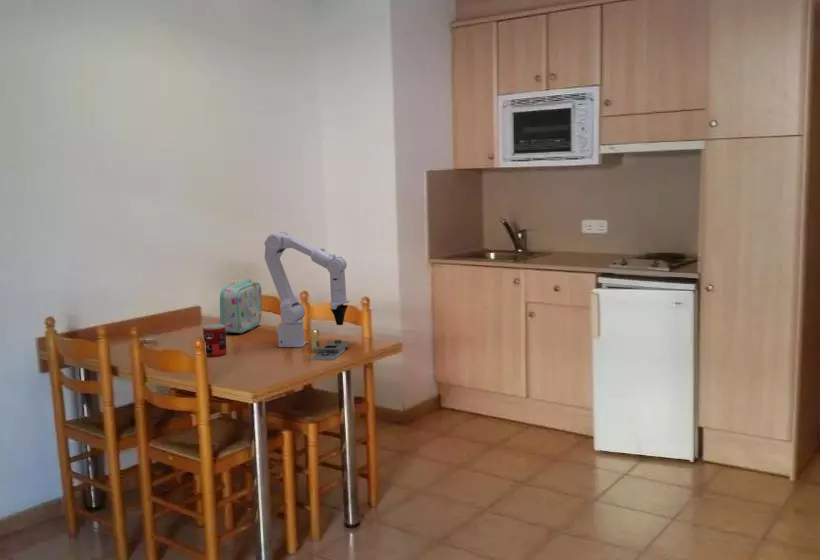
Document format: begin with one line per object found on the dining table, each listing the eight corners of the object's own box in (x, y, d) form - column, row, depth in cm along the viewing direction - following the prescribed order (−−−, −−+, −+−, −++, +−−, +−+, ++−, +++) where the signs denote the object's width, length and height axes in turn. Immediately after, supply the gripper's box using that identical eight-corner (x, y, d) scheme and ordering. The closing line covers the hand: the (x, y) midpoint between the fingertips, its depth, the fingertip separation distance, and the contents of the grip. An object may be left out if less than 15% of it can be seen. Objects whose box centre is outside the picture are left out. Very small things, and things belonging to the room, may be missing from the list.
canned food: (203, 354, 306) (201, 325, 305) (224, 351, 309) (222, 323, 308) (206, 358, 299) (204, 328, 298) (228, 355, 302) (226, 326, 301)
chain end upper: (317, 352, 295) (317, 347, 295) (329, 344, 309) (328, 339, 309) (338, 352, 294) (338, 347, 293) (349, 344, 307) (349, 339, 307)
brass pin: (310, 352, 302) (309, 331, 301) (313, 350, 305) (312, 329, 304) (318, 352, 301) (317, 331, 300) (321, 350, 304) (319, 329, 303)
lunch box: (243, 323, 366) (240, 276, 363) (265, 323, 364) (262, 276, 361) (218, 336, 340) (215, 285, 337) (241, 336, 338) (238, 285, 335)
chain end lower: (312, 359, 290) (311, 354, 289) (324, 350, 303) (324, 346, 303) (333, 360, 288) (333, 355, 288) (345, 351, 302) (344, 346, 301)
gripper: (342, 292, 299) (344, 328, 301) (353, 286, 313) (355, 321, 315) (324, 292, 301) (326, 328, 303) (336, 286, 315) (337, 321, 317)
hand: (339, 324), depth 309 cm, fingers closed
